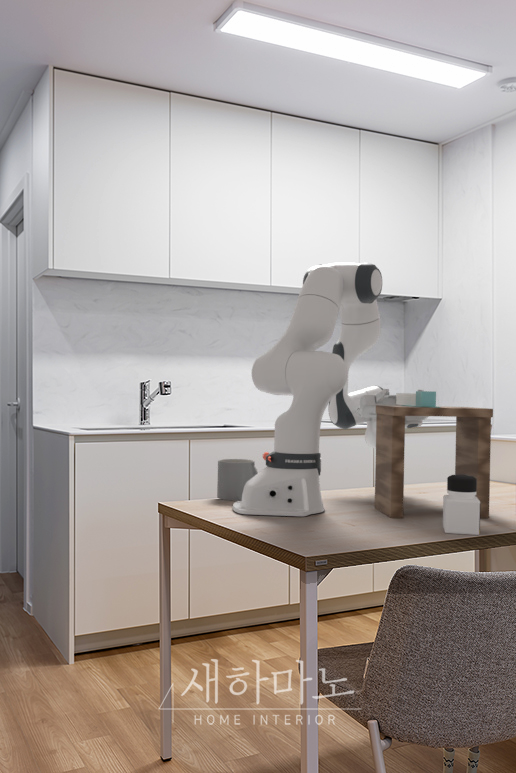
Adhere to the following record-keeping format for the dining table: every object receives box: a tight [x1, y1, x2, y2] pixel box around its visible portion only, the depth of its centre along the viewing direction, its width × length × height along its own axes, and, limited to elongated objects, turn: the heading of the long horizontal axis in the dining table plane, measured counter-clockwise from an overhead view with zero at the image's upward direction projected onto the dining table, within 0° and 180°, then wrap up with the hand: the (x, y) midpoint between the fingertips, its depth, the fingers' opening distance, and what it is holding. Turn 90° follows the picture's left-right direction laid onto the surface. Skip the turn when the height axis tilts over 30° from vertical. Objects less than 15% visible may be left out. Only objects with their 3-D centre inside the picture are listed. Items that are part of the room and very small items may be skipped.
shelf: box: [374, 405, 494, 519], centre depth 171 cm, size 24×16×26 cm, turn 96°
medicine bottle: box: [442, 474, 481, 536], centre depth 149 cm, size 7×7×12 cm
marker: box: [395, 390, 437, 407], centre depth 176 cm, size 23×4×4 cm, turn 6°
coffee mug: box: [216, 458, 259, 502], centre depth 190 cm, size 13×10×10 cm
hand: (403, 391), depth 184 cm, fingers open, 8 cm apart
